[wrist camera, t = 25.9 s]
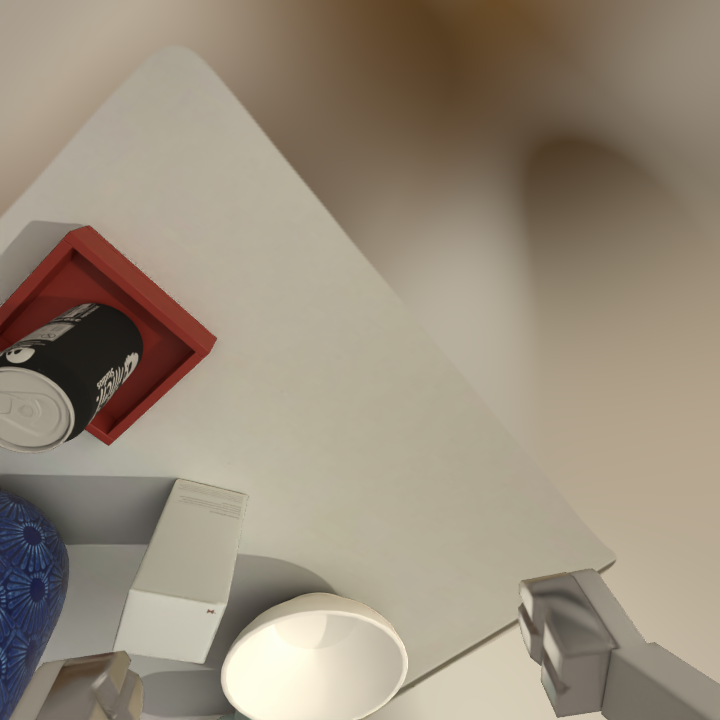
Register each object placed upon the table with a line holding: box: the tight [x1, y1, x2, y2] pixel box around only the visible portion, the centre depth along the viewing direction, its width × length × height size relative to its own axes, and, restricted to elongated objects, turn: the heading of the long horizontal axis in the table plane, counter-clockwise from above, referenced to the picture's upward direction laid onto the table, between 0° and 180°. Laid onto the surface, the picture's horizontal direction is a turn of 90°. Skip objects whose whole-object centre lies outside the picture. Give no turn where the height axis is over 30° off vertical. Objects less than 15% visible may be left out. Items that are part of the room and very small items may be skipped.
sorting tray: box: [0, 226, 217, 446], centre depth 37 cm, size 13×13×3 cm
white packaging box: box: [113, 479, 248, 664], centre depth 41 cm, size 7×7×13 cm
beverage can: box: [0, 303, 143, 453], centre depth 32 cm, size 7×7×12 cm
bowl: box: [221, 592, 408, 720], centre depth 51 cm, size 20×20×7 cm
